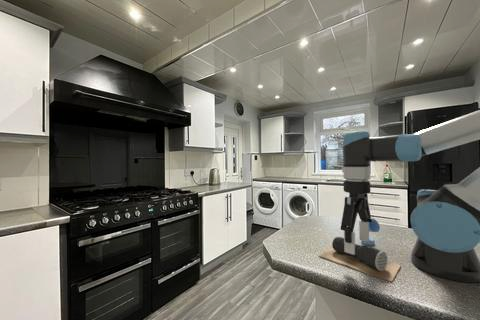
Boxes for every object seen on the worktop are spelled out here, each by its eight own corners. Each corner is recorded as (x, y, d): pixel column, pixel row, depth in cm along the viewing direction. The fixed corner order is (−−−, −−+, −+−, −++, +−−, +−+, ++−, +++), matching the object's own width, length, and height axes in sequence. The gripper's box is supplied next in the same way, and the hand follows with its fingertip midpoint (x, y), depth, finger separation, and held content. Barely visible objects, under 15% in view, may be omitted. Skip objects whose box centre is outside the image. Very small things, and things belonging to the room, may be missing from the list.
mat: (400, 266, 61) (400, 265, 61) (391, 282, 53) (391, 280, 53) (333, 246, 76) (333, 245, 76) (318, 256, 68) (318, 255, 68)
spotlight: (382, 246, 76) (366, 239, 83) (381, 219, 76) (366, 215, 83) (371, 247, 75) (356, 240, 82) (370, 220, 75) (356, 215, 82)
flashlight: (330, 252, 71) (330, 236, 71) (340, 249, 73) (340, 234, 73) (377, 273, 57) (376, 253, 57) (387, 268, 59) (387, 250, 59)
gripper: (357, 177, 76) (357, 234, 76) (327, 182, 59) (328, 254, 59) (380, 178, 71) (381, 239, 70) (355, 183, 54) (356, 264, 53)
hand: (357, 246), depth 65 cm, fingers open, 13 cm apart
